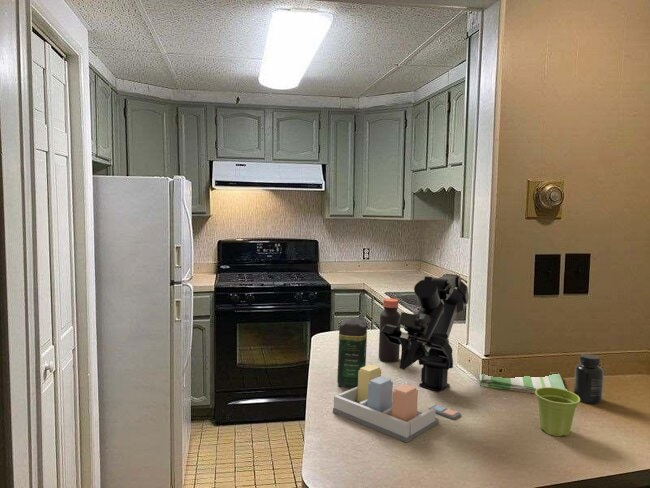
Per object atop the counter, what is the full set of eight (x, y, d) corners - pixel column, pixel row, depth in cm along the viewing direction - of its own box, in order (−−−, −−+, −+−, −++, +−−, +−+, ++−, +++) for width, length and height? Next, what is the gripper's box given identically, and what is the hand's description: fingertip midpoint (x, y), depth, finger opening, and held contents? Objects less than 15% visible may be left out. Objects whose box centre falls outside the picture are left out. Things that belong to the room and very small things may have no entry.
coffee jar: (363, 390, 136) (366, 324, 134) (335, 388, 137) (337, 322, 136) (366, 378, 146) (368, 316, 144) (339, 375, 147) (341, 314, 145)
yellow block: (380, 399, 127) (381, 367, 126) (368, 405, 123) (369, 371, 122) (369, 395, 129) (370, 363, 128) (357, 401, 125) (358, 368, 125)
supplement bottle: (600, 397, 135) (603, 354, 134) (602, 406, 129) (606, 362, 128) (572, 392, 138) (575, 351, 137) (573, 401, 132) (576, 357, 131)
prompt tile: (460, 415, 122) (460, 412, 122) (453, 419, 119) (453, 416, 119) (435, 406, 126) (435, 403, 126) (428, 410, 124) (428, 407, 124)
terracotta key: (416, 423, 114) (418, 387, 113) (404, 430, 110) (405, 393, 109) (403, 418, 116) (405, 383, 115) (391, 425, 112) (392, 388, 112)
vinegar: (402, 358, 164) (404, 299, 162) (393, 364, 159) (396, 302, 157) (383, 354, 168) (386, 297, 166) (374, 360, 162) (377, 300, 160)
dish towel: (569, 400, 134) (569, 390, 134) (479, 388, 141) (479, 379, 140) (558, 378, 151) (559, 369, 151) (478, 368, 158) (479, 360, 157)
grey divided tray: (438, 422, 117) (439, 406, 117) (406, 442, 107) (407, 424, 107) (366, 396, 132) (367, 382, 131) (332, 411, 122) (333, 396, 121)
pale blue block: (391, 414, 118) (392, 379, 118) (379, 420, 115) (380, 384, 114) (379, 409, 121) (380, 375, 120) (367, 415, 117) (368, 380, 116)
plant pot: (575, 444, 108) (578, 406, 107) (529, 433, 113) (532, 396, 112) (579, 428, 116) (582, 392, 115) (536, 418, 121) (538, 384, 120)
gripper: (386, 294, 132) (359, 343, 125) (448, 306, 119) (422, 361, 113) (402, 318, 139) (377, 365, 132) (463, 331, 126) (438, 385, 119)
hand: (401, 368), depth 124 cm, fingers closed
